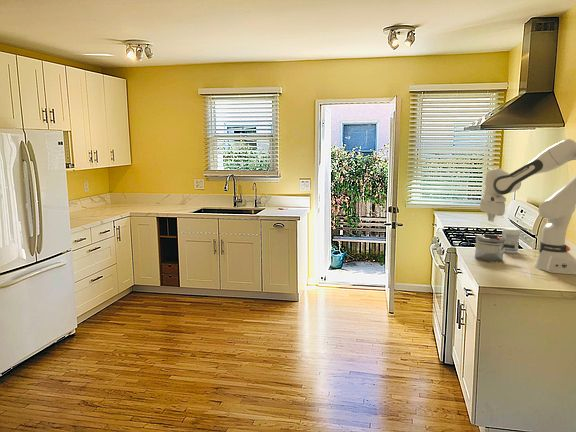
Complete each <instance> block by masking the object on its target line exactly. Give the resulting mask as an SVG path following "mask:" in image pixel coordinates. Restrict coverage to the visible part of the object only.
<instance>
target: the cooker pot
mask: <svg viewBox="0 0 576 432" xmlns="http://www.w3.org/2000/svg"><path fill="white" fill-rule="evenodd" d="M504 247H505V248H514V249H515V244H506V243H505V242H503V243H493V242H485V241H480V240H477V239H476V238H475V251H474V259H476V260H479V261H481V262H485V261H486V263H487V262H488V263H501V262H503V260H504V253H505V252H504Z"/></svg>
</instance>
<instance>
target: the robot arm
mask: <svg viewBox="0 0 576 432" xmlns="http://www.w3.org/2000/svg"><path fill="white" fill-rule="evenodd" d="M575 160H576V141H575V140H573V139H570V138H567V139H564V140H561V141H559V142H556V143H555V144H553V145H551V146H549V147H547V148H546V149H545V150H543V151H542V152H540V153H539V154H537V156H535V157H534V158H532V159H531V160H530V161H529V162H528V163H527V164H524V165H523V166H521V167H519V168H517V169H516V170H514V171H513V172H511V173H509V172H507V171H505V170H504V169H503V168H501V167H500V168H499V167H497V168H491V169H488V170H487V172H486V176H485V181H484V182H485V183H484V185H485V189H484V195H483V196H482V199H481V201H480V205H479V209H480V210H479V211H481V212H484V213H486V214H487V221H488V222H491V223H492V222H494V221H495V217H496V216H499V217H503V216H504V215H505V214H506V213H505V212H506V202H507V198H506V197H505V196H504V195H507V194H511V193H514V192H516V191H517V192H518V190H519V189H520V188H521V185H522V182H523V181H525V180H526V179H528V178H530V177H532V176H534V175H538V174H544V173H548V172H551V171H553V170H556V169H557V168H560V167H561V166H563V165H565V164H566V163H569V162H571V161H575ZM575 211H576V175H575V176H573V177H572V178H571V179H570V180H569V181H568V182H567V183H566V184H565V185H564V186H563V187H561V188H560V189H558V190H557V191H556V192H555V193H553V194H552V195H550V196H549V197H548V198H547V199H544V201H542V202H541V203H540V204H539V206H538V214H539V215H540V216H541V217H542V218H543V219H547V220H546V221H545V222H546V223H545V224H544V226H543V228H542V233H541V241H540V243H539V245H538V246H539V248H538V252H539V253H538V257H537V260H536V263H535V264H534V268H536V269H539V270H542V271H545V272H548V273H552V274H564V275H565V274H566V275H575V276H576V257H574V256H573V255H572V254H571V253H570V252H569V251H571V247H570V246H568V245H567V244H565V243H566V237H567V230H568V228H569V224H570V222H571V219H572V216H573V214H574V212H575Z"/></svg>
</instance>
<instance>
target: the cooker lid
mask: <svg viewBox="0 0 576 432" xmlns="http://www.w3.org/2000/svg"><path fill="white" fill-rule="evenodd" d="M476 239H477V240H480V241H485V242H493V243H503V242H506V239H505V238H502V236H498V234H491V233H490V234H489V233H484V234H479V235H475V240H476Z"/></svg>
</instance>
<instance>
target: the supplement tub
mask: <svg viewBox="0 0 576 432" xmlns="http://www.w3.org/2000/svg"><path fill="white" fill-rule="evenodd" d="M501 234H502V235H501V237H502V238H505V239H506V242H505V243H506V244H515V249H514V248H505V247H504V252H503V253H508V254H516V253H518V251H519V242H520V228H518V227H511V226H508V227H507V226H505V227H502V232H501Z"/></svg>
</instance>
